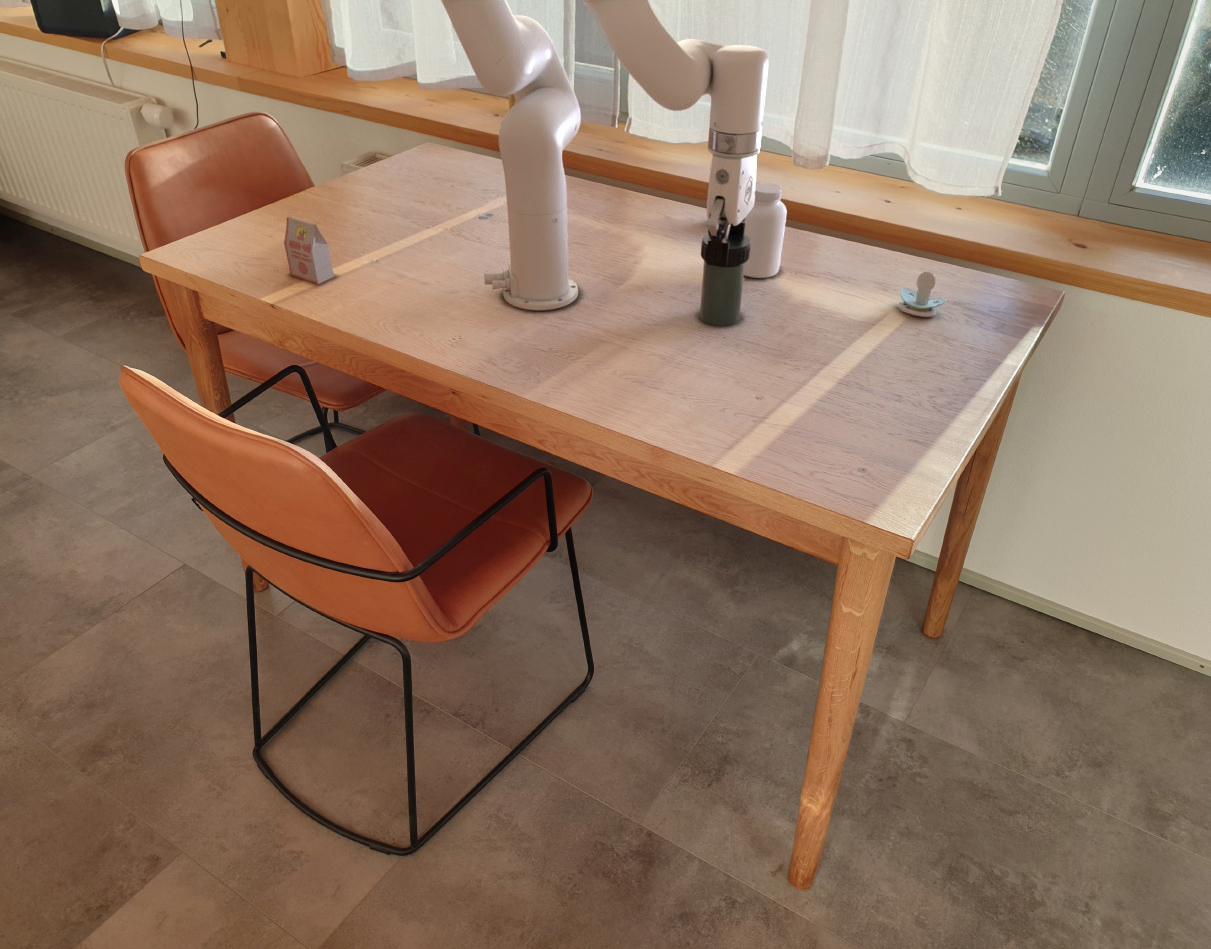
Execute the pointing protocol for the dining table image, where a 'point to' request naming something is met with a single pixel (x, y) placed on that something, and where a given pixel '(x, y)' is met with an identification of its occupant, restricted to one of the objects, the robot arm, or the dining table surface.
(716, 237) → the robot arm
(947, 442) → the dining table surface
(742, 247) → the lid
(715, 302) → the jar
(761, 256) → the pill bottle
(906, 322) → the dining table surface
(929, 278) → the pacifier
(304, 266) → the white snack box
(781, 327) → the dining table surface
